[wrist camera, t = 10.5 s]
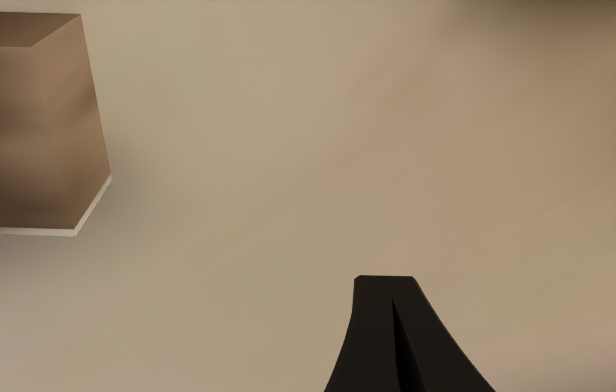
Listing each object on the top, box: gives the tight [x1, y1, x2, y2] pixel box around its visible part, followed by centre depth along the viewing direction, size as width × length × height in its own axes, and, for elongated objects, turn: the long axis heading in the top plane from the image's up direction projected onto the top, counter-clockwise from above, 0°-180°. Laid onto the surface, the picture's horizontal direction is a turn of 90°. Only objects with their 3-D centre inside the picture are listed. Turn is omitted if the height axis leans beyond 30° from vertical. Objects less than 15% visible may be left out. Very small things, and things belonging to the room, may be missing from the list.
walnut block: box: [0, 12, 112, 237], centre depth 19 cm, size 5×4×7 cm
